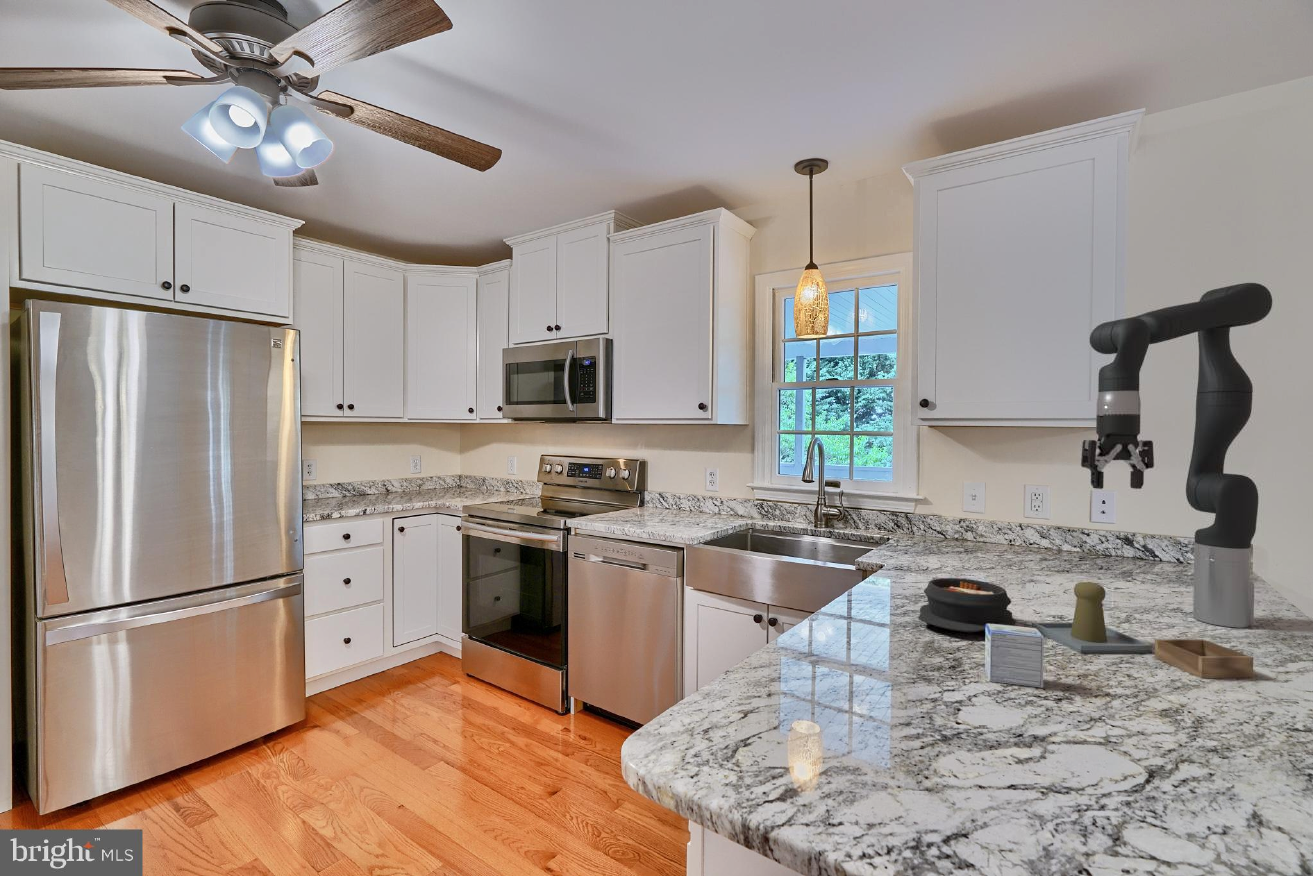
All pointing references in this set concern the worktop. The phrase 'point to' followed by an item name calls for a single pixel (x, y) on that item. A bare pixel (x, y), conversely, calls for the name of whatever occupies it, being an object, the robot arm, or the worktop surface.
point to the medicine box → (1014, 655)
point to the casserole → (965, 605)
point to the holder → (1204, 658)
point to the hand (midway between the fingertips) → (1116, 488)
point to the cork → (1089, 613)
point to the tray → (1113, 645)
